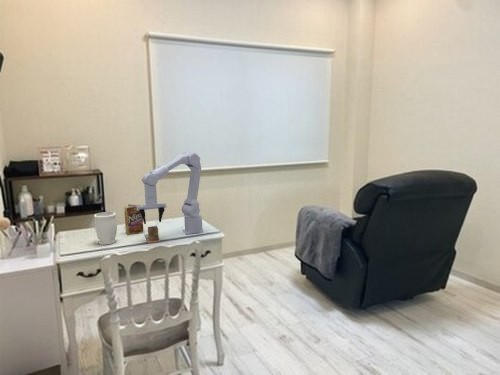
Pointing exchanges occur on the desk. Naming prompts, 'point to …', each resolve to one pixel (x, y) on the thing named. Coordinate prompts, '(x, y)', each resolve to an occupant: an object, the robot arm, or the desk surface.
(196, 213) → the robot arm
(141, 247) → the desk surface
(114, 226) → the white plant pot
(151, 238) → the walnut block
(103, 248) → the desk surface
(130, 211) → the candy box
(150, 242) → the terracotta tile
